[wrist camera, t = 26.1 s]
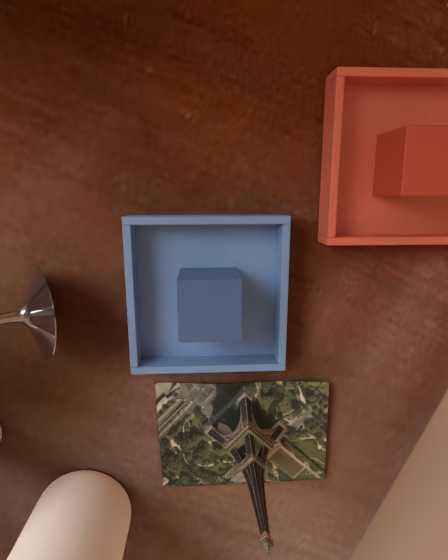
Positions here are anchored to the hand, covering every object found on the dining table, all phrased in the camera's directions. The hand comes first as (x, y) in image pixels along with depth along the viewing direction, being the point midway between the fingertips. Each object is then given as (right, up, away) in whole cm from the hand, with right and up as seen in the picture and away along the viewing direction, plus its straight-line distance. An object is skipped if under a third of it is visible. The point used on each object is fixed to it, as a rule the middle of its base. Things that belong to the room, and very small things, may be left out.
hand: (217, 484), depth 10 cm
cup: (-12, -17, +26) cm, 33 cm away
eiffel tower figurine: (+2, -8, +25) cm, 26 cm away
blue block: (-1, +4, +21) cm, 22 cm away
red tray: (+14, +14, +20) cm, 28 cm away
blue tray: (-1, +5, +22) cm, 22 cm away
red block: (+14, +14, +20) cm, 28 cm away
